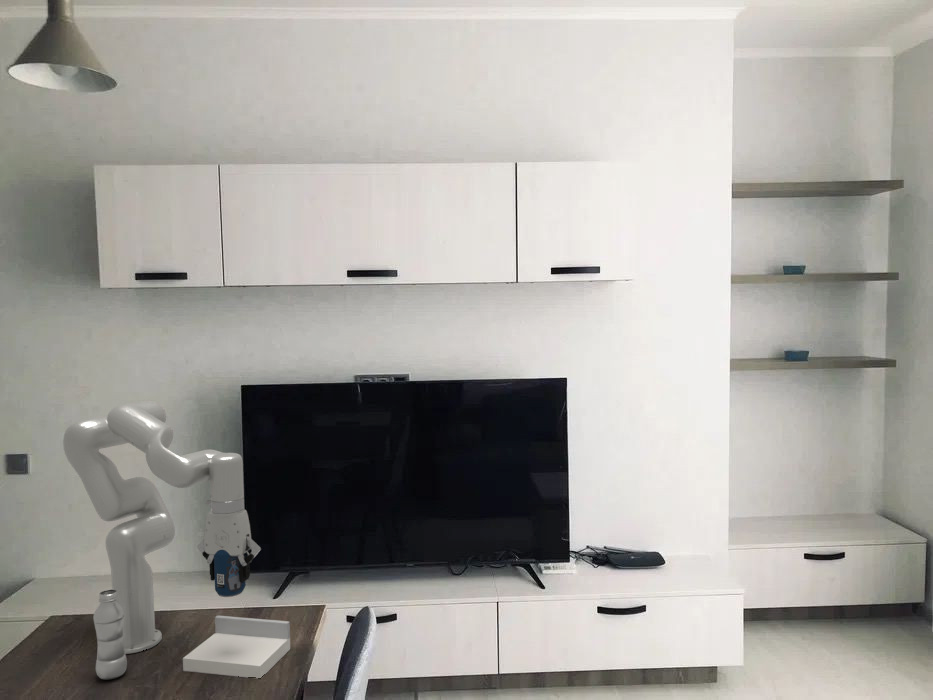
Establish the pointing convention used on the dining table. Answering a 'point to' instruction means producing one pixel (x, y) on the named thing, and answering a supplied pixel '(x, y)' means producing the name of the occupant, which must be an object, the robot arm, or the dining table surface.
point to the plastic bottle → (109, 636)
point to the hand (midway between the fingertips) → (229, 579)
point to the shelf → (240, 647)
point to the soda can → (227, 574)
